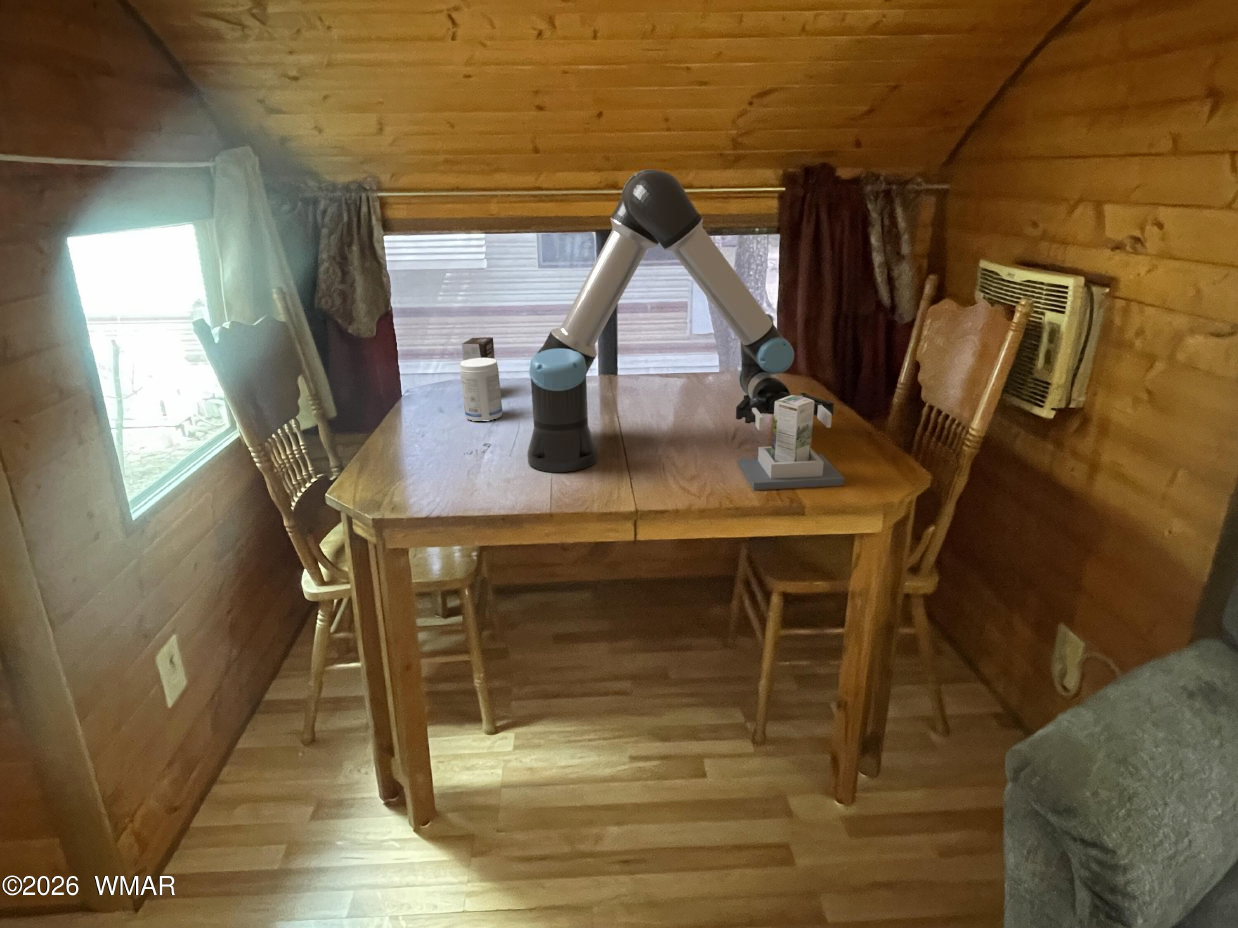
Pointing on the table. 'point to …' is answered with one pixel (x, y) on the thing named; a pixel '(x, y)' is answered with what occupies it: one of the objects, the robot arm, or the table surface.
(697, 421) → the table surface
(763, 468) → the socket board
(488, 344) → the coffee box
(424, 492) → the table surface
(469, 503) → the table surface
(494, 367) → the supplement tub
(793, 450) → the syrup box
